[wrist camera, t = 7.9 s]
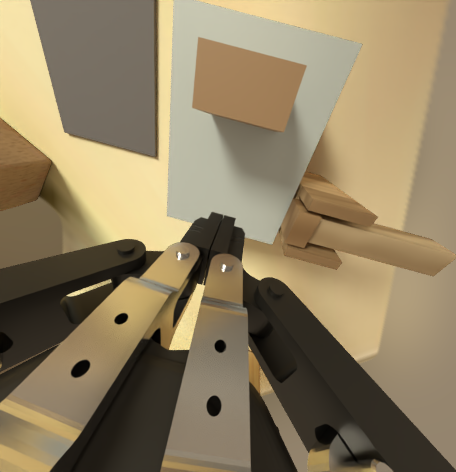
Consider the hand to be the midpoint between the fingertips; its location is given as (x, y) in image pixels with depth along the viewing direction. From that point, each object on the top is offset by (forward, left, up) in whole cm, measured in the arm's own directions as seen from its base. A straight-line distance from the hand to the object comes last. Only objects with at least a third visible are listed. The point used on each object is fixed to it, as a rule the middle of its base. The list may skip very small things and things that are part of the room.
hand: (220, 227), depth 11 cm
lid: (-3, 0, -8) cm, 9 cm away
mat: (-7, -18, -15) cm, 25 cm away
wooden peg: (0, +11, -6) cm, 13 cm away
